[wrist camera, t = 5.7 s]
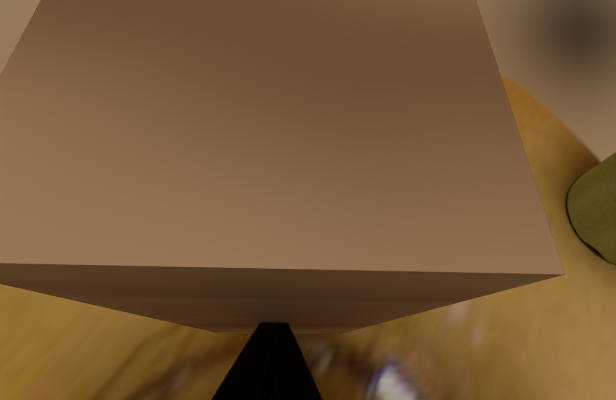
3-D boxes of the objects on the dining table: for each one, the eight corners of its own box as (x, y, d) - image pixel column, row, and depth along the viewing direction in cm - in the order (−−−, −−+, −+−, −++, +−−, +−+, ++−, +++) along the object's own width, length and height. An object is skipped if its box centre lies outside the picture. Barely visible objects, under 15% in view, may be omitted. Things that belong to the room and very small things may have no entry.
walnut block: (340, 333, 16) (564, 274, 3) (216, 332, 15) (-100, 261, 3) (336, 219, 18) (452, -73, 6) (229, 215, 18) (95, -102, 5)
